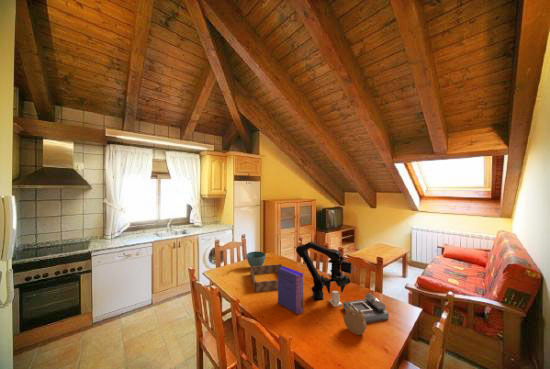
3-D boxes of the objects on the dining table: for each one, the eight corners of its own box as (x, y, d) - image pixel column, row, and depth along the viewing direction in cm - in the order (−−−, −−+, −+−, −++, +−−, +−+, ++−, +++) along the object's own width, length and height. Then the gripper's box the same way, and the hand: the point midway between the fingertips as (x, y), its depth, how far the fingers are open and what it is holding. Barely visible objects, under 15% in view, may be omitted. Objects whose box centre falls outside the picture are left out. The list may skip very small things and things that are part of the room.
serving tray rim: (254, 292, 151) (254, 282, 151) (250, 274, 181) (250, 266, 181) (291, 288, 158) (291, 278, 158) (281, 271, 187) (281, 263, 187)
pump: (333, 306, 134) (333, 295, 134) (328, 300, 142) (328, 289, 142) (342, 305, 135) (342, 294, 135) (335, 298, 143) (335, 288, 143)
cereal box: (303, 311, 129) (303, 273, 129) (298, 314, 126) (298, 275, 126) (282, 300, 141) (282, 265, 141) (277, 303, 138) (278, 267, 138)
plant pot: (242, 266, 197) (242, 254, 197) (257, 261, 210) (257, 250, 210) (254, 273, 184) (254, 259, 184) (269, 267, 196) (269, 254, 196)
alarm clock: (367, 335, 108) (367, 307, 108) (363, 341, 105) (363, 312, 105) (346, 325, 116) (346, 299, 116) (342, 330, 112) (342, 303, 112)
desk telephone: (358, 325, 117) (358, 309, 117) (343, 308, 132) (343, 294, 132) (388, 319, 121) (388, 304, 121) (370, 304, 137) (370, 290, 137)
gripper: (328, 276, 128) (328, 301, 128) (355, 273, 132) (355, 297, 132) (320, 269, 138) (320, 292, 139) (345, 266, 143) (345, 289, 143)
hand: (335, 292), depth 138 cm, fingers open, 9 cm apart
